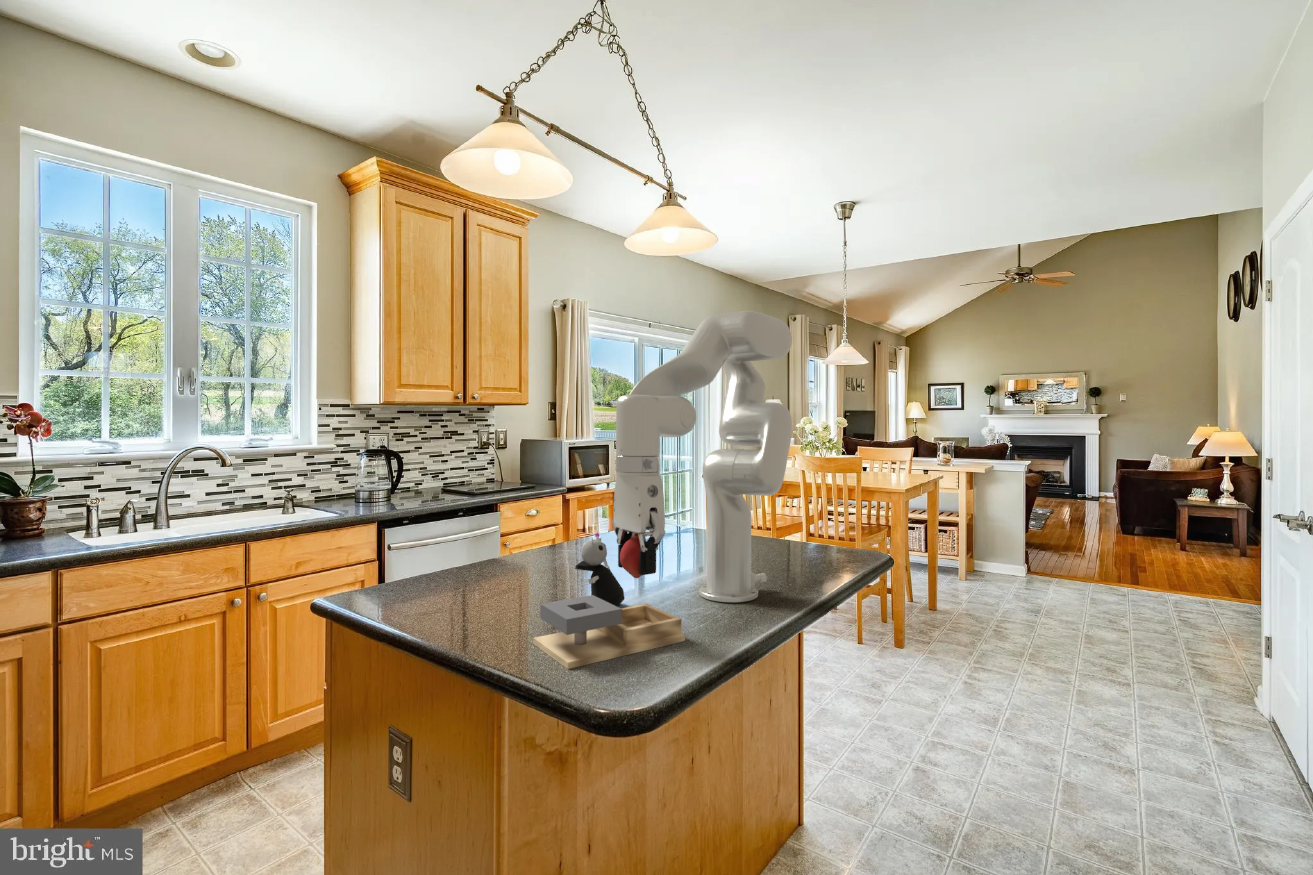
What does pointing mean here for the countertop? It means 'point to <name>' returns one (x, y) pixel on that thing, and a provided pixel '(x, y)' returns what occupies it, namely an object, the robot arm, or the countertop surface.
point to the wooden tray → (614, 637)
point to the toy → (600, 572)
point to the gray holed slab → (580, 614)
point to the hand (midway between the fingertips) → (636, 569)
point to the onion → (631, 556)
